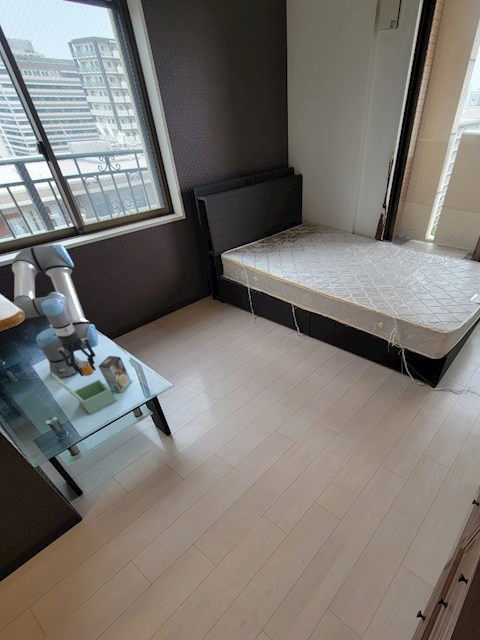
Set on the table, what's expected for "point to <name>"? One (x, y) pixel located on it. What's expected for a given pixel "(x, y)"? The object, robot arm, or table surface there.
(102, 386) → the pale green cubby
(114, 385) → the coffee box
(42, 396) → the table surface
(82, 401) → the lid
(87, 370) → the coffee pod
